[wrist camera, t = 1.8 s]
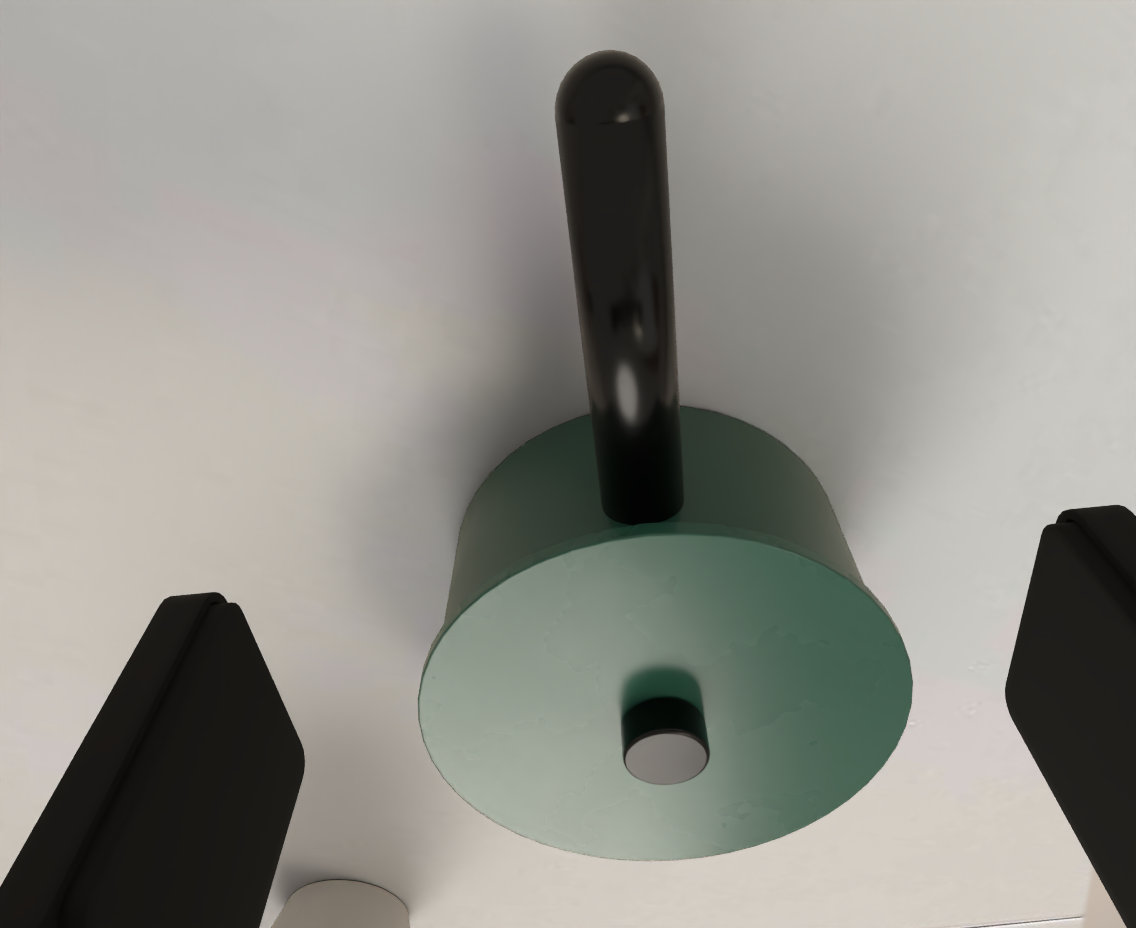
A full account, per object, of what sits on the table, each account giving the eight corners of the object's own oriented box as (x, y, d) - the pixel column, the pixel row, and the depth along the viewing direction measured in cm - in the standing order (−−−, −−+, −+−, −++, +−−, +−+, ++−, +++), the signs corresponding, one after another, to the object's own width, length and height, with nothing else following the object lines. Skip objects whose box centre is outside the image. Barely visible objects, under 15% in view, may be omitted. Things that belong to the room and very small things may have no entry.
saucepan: (483, 713, 29) (463, 909, 23) (311, 55, 17) (192, 135, 12) (836, 686, 28) (900, 883, 22) (897, -22, 16) (1059, 27, 11)
